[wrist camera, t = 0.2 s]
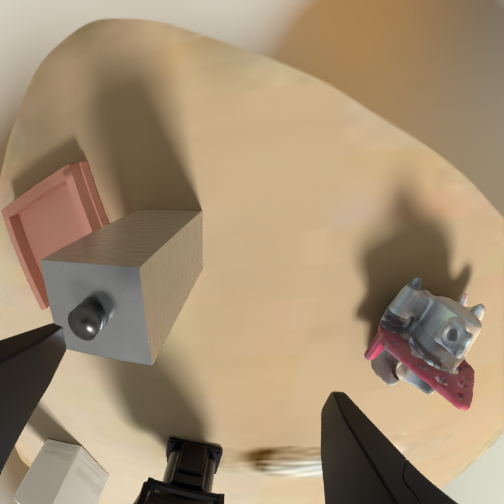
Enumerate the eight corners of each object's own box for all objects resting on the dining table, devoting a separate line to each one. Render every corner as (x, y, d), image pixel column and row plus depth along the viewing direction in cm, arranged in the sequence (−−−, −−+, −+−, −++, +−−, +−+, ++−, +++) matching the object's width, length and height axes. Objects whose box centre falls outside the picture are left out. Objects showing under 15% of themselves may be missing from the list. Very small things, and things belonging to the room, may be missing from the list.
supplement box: (46, 437, 34) (9, 497, 19) (81, 444, 33) (45, 515, 19) (74, 468, 36) (46, 526, 22) (111, 476, 35) (85, 542, 21)
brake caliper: (329, 387, 24) (424, 404, 12) (359, 271, 27) (449, 225, 16) (419, 405, 25) (511, 413, 13) (439, 306, 28) (526, 281, 17)
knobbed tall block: (202, 268, 23) (145, 380, 11) (142, 264, 23) (51, 358, 11) (202, 210, 22) (128, 278, 10) (139, 209, 22) (26, 267, 10)
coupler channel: (129, 273, 24) (117, 284, 21) (53, 299, 25) (40, 310, 23) (87, 160, 21) (70, 162, 19) (16, 206, 22) (0, 211, 20)
